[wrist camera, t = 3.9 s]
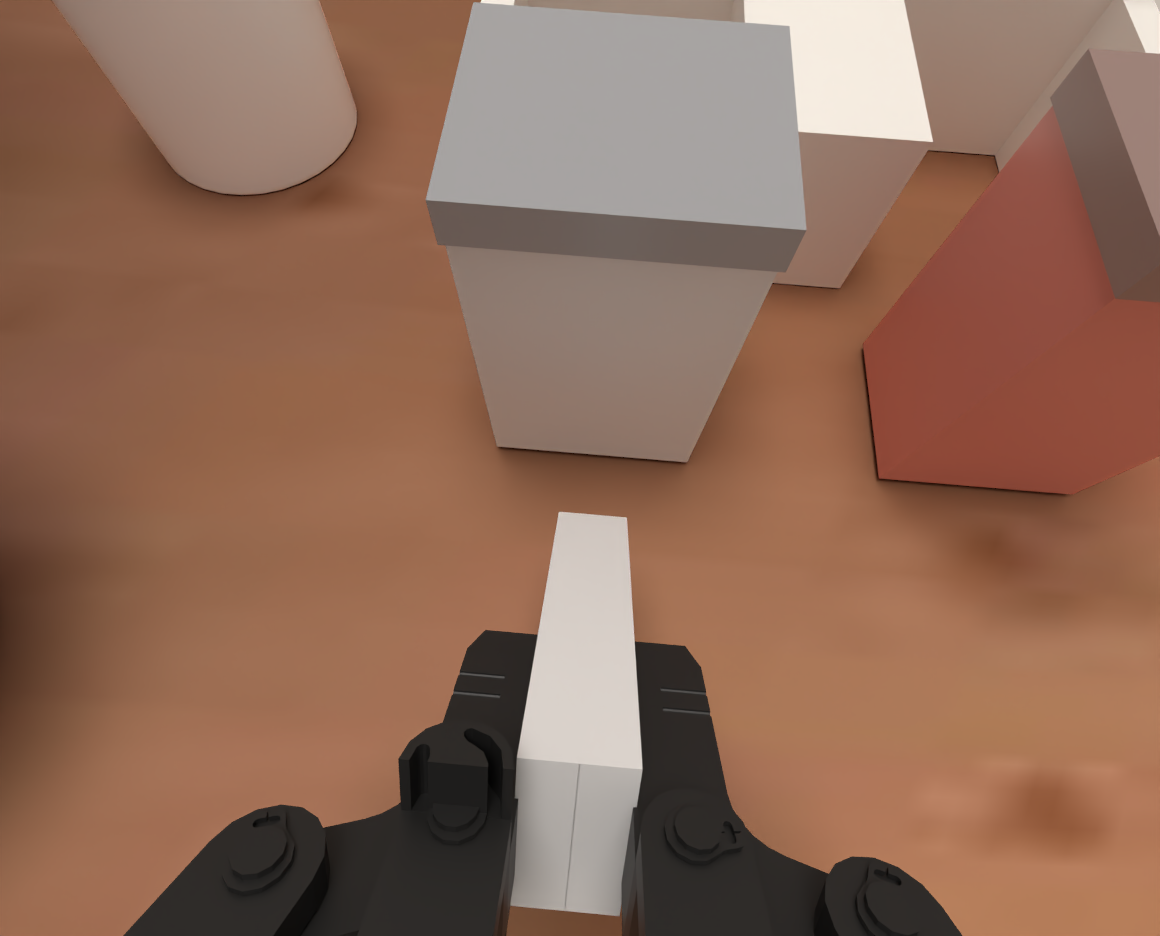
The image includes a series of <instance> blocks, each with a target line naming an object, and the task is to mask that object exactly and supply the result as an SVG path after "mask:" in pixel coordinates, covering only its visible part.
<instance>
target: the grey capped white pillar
mask: <svg viewBox="0 0 1160 936" xmlns="http://www.w3.org/2000/svg"><path fill="white" fill-rule="evenodd" d="M426 203H427V207H428V210H429V214H430V218H431V221H432V225H433V229H434V233H435V236H436V240H437V244H438V245H446V249H447V253H448V257H449V261H450V265H451V269H452V273H453V277H454V281H455V285H456V288H457V292H458V296H459V300H460V304H461V308H462V312H463V316H464V320H465V324H466V328H467V332H468V335H469V339H470V343H471V347H472V351H473V355H474V359H475V363H476V367H477V371H478V375H479V379H480V382H481V386H482V390H483V394H484V398H485V402H486V406H487V410H488V414H489V418H490V422H491V425H492V429H493V433H494V437H495V441H496V445H497V446H498V447H510V448H522V449H534V450H546V451H558V452H570V453H582V454H594V455H606V456H618V457H630V458H641V459H653V460H665V461H677V462H688V460H689V458H690V455H691V453H692V451H693V449H694V447H695V445H696V443H697V441H698V439H699V436H700V434H701V432H702V430H703V428H704V426H705V424H706V422H707V420H708V418H709V415H710V413H711V411H712V409H713V407H714V405H715V403H716V401H717V399H718V396H719V394H720V392H721V390H722V388H723V386H724V384H725V382H726V380H727V378H728V375H729V373H730V371H731V369H732V367H733V365H734V363H735V361H736V359H737V357H738V354H739V352H740V350H741V348H742V346H743V344H744V342H745V340H746V338H747V335H748V333H749V331H750V329H751V327H752V325H753V323H754V321H755V319H756V317H757V314H758V312H759V310H760V308H761V306H762V304H763V302H764V300H765V298H766V295H767V293H768V291H769V289H770V287H771V285H772V283H773V281H774V279H775V277H776V274H777V272H785V273H786V271H787V269H788V267H789V265H790V263H791V261H792V259H793V257H794V255H795V253H796V251H797V249H798V246H799V244H800V242H801V240H802V238H803V236H804V234H805V232H806V230H807V229H806V217H805V205H804V193H803V181H802V170H801V158H800V146H799V134H798V122H797V110H796V98H795V86H794V74H793V62H792V50H791V38H790V26H783V25H770V24H756V23H743V22H730V21H716V20H703V19H690V18H676V17H663V16H650V15H636V14H623V13H610V12H596V11H583V10H570V9H556V8H543V7H530V6H516V5H503V4H490V3H476V2H474V3H473V7H472V11H471V15H470V19H469V23H468V28H467V32H466V36H465V40H464V44H463V48H462V52H461V56H460V61H459V65H458V69H457V73H456V77H455V81H454V85H453V89H452V94H451V98H450V102H449V106H448V110H447V114H446V118H445V122H444V127H443V131H442V135H441V139H440V143H439V147H438V151H437V155H436V160H435V164H434V168H433V172H432V176H431V180H430V184H429V189H428V193H427V197H426Z"/></svg>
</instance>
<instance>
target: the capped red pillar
mask: <svg viewBox="0 0 1160 936" xmlns="http://www.w3.org/2000/svg"><path fill="white" fill-rule="evenodd" d="M1050 99H1051V102H1052V105H1053V106H1052V107H1051V108H1050V109H1049V111H1048V112H1047V113H1046V114H1045V116H1044V117H1043V118H1042V119H1041V121H1040V122H1039V123H1038V124H1037V126H1036V127H1035V128H1034V129H1033V131H1032V132H1031V133H1030V135H1029V136H1028V137H1027V138H1026V140H1025V141H1024V142H1023V143H1022V145H1021V146H1020V147H1019V148H1018V150H1017V151H1016V152H1015V153H1014V155H1013V156H1012V157H1011V158H1010V160H1009V161H1008V162H1007V163H1006V165H1005V166H1004V167H1003V168H1002V170H1001V171H1000V172H999V174H998V175H997V176H996V177H995V179H994V180H993V181H992V182H991V184H990V185H989V186H988V187H987V189H986V190H985V191H984V192H983V194H982V195H981V196H980V197H979V199H978V200H977V201H976V202H975V204H974V205H973V206H972V207H971V209H970V210H969V211H968V212H967V214H966V215H965V216H964V218H963V219H962V220H961V221H960V223H959V224H958V225H957V226H956V228H955V229H954V230H953V231H952V233H951V234H950V235H949V236H948V238H947V239H946V240H945V241H944V243H943V244H942V245H941V246H940V248H939V249H938V250H937V251H936V253H935V254H934V255H933V257H932V258H931V259H930V260H929V262H928V263H927V264H926V265H925V267H924V268H923V269H922V270H921V272H920V273H919V274H918V275H917V277H916V278H915V279H914V280H913V282H912V283H911V284H910V285H909V287H908V288H907V289H906V290H905V292H904V293H903V294H902V295H901V297H900V298H899V299H898V301H897V302H896V303H895V304H894V306H893V307H892V308H891V309H890V311H889V312H888V313H887V314H886V316H885V317H884V318H883V319H882V321H881V322H880V323H879V324H878V326H877V327H876V328H875V329H874V331H873V332H872V333H871V334H870V336H869V337H868V338H867V340H866V341H865V342H864V343H863V349H864V357H865V365H866V374H867V382H868V391H869V399H870V407H871V416H872V424H873V432H874V441H875V449H876V457H877V466H878V474H879V478H881V479H893V480H905V481H917V482H928V483H940V484H952V485H964V486H976V487H988V488H1000V489H1012V490H1024V491H1036V492H1048V493H1060V494H1075V493H1077V492H1079V491H1081V490H1084V489H1086V488H1088V487H1090V486H1093V485H1095V484H1097V483H1100V482H1102V481H1104V480H1106V479H1109V478H1111V477H1113V476H1115V475H1118V474H1120V473H1122V472H1125V471H1127V470H1129V469H1131V468H1134V467H1136V466H1138V465H1140V464H1143V463H1145V462H1147V461H1150V460H1152V459H1154V458H1156V457H1159V456H1160V54H1156V53H1143V52H1130V51H1116V50H1103V49H1090V48H1088V50H1087V51H1086V52H1085V54H1084V55H1083V56H1082V57H1081V59H1080V60H1079V61H1078V63H1077V64H1076V65H1075V66H1074V68H1073V69H1072V70H1071V71H1070V73H1069V74H1068V75H1067V77H1066V78H1065V79H1064V80H1063V82H1062V83H1061V84H1060V86H1059V87H1058V88H1057V89H1056V91H1055V92H1054V93H1053V95H1052V96H1051V97H1050Z"/></svg>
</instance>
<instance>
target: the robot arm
mask: <svg viewBox="0 0 1160 936" xmlns="http://www.w3.org/2000/svg"><path fill="white" fill-rule="evenodd" d="M399 778H400V796H401V803H399V804H398V805H397V806H395V807H393V808H391V809H389V810H387V811H386V812H384V813H382V814H379V815H376V816H372V817H369V818H366V819H362V820H358V821H353V822H348V823H344V824H339V825H334V826H330V827H325V828H323V827H322V825H321V823H320V821H319V819H318V817H316V816H315V815H313V814H312V813H310V812H309V811H307V810H306V809H304V808H302V807H295V806H287V805H278V806H273V807H268V808H263V809H258V810H255V811H253V812H251V813H249V814H247V815H245V816H243V817H241V818H239V819H237V820H235V821H233V822H232V823H231V824H230V825H228V826H227V827H226V828H225V829H224V830H222V831H221V832H220V833H219V834H218V835H217V836H215V837H214V838H213V839H212V840H211V841H210V842H209V843H208V844H207V845H206V846H205V847H204V848H203V849H202V851H201V852H200V853H199V854H198V855H197V856H196V857H195V858H194V859H193V860H192V861H191V863H190V864H189V865H188V866H187V867H186V868H185V869H184V870H183V871H182V872H181V873H180V875H179V876H178V877H177V878H176V879H175V880H174V881H173V882H172V883H171V884H170V885H169V887H168V888H167V889H166V890H165V891H164V892H163V893H162V894H161V895H160V896H159V897H158V898H157V900H156V901H155V902H154V903H153V904H152V905H151V906H150V907H149V908H148V909H147V910H146V912H145V913H144V914H143V915H142V916H141V917H140V918H139V919H138V920H137V921H136V922H135V924H134V925H133V926H132V927H131V928H130V929H129V930H128V931H127V932H126V933H125V934H124V936H506V931H507V924H508V917H509V910H510V906H518V907H529V908H539V909H550V910H560V911H571V912H581V913H592V914H602V915H613V916H620V910H621V904H622V936H962V935H961V933H960V932H959V930H958V929H957V928H956V926H955V925H954V923H953V922H952V920H951V919H950V918H949V916H948V915H947V913H946V912H945V910H944V909H943V908H942V906H941V905H940V904H939V903H938V902H937V901H936V900H935V899H934V897H933V896H932V895H931V894H930V893H929V892H928V891H927V890H926V888H925V887H924V886H923V885H922V884H921V883H919V882H918V881H917V880H915V879H914V878H912V877H911V876H910V875H908V874H907V873H905V872H904V871H903V870H901V869H900V868H898V867H896V866H894V865H891V864H888V863H886V862H883V861H881V860H878V859H876V858H869V857H850V858H848V859H845V860H843V861H841V862H838V863H836V864H835V865H834V867H833V868H832V870H831V872H830V873H829V874H827V873H825V872H823V871H820V870H818V869H815V868H813V867H810V866H808V865H805V864H803V863H801V862H798V861H796V860H793V859H791V858H788V857H786V856H784V855H782V854H780V853H778V852H776V851H774V850H772V849H770V848H768V847H767V846H766V845H765V844H763V843H762V842H761V841H759V840H758V839H757V838H755V837H754V836H753V835H752V834H751V833H750V832H749V831H748V830H747V828H746V827H745V825H744V823H743V821H742V820H741V819H740V818H739V817H738V816H737V815H736V813H735V812H734V810H733V809H732V806H731V803H730V800H729V797H728V794H727V790H726V785H725V780H724V776H723V771H722V766H721V761H720V756H719V752H718V747H717V742H716V737H715V732H714V728H713V723H712V718H711V716H710V708H709V704H708V699H707V696H706V689H705V684H704V680H703V675H702V670H701V667H700V666H699V664H698V663H697V662H696V660H695V659H694V658H693V656H692V655H691V654H690V652H689V651H688V650H687V648H686V647H685V646H678V645H667V644H656V643H645V642H635V640H634V624H633V608H632V592H631V576H630V560H629V544H628V528H627V518H626V517H614V516H603V515H592V514H580V513H569V512H559V515H558V521H557V526H556V532H555V538H554V544H553V550H552V556H551V561H550V567H549V573H548V579H547V585H546V591H545V596H544V602H543V608H542V614H541V620H540V626H539V631H538V635H534V634H523V633H512V632H501V631H490V630H485V631H484V632H483V633H482V634H481V635H480V636H479V637H478V638H477V639H476V640H475V641H474V642H473V643H472V644H471V645H470V646H469V647H468V648H467V651H466V654H465V657H464V660H463V663H462V666H461V669H460V675H458V678H457V681H456V684H455V687H454V692H453V695H452V696H451V700H450V703H449V706H448V709H447V712H446V715H445V718H444V721H443V723H440V724H438V725H435V726H432V727H430V728H427V729H425V730H424V731H423V732H422V733H420V734H419V735H418V736H416V737H415V738H414V739H412V740H411V741H410V742H409V743H408V745H407V746H406V748H405V750H404V751H403V753H402V754H401V756H400V757H399Z"/></svg>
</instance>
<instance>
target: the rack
mask: <svg viewBox="0 0 1160 936" xmlns="http://www.w3.org/2000/svg"><path fill="white" fill-rule="evenodd" d="M481 3H490V4H503V5H516V6H530V7H543V8H556V9H570V10H583V11H596V12H610V13H623V14H636V15H650V16H663V17H676V18H690V19H703V20H716V21H730V22H743V23H756V24H770V25H783V26H790V38H791V50H792V62H793V74H794V86H795V98H796V110H797V122H798V134H799V146H800V158H801V170H802V181H803V193H804V205H805V217H806V229H807V230H806V232H805V234H804V236H803V238H802V240H801V242H800V244H799V246H798V249H797V251H796V253H795V255H794V257H793V259H792V261H791V263H790V265H789V267H788V269H787V271H786V273H785V272H777V274H776V277H775V279H774V281H773V283H779V284H792V285H804V286H817V287H829V288H840V287H841V286H842V284H843V282H844V281H845V279H846V278H847V276H848V275H849V273H850V271H851V270H852V268H853V267H854V265H855V264H856V262H857V261H858V259H859V257H860V256H861V254H862V253H863V251H864V250H865V248H866V246H867V245H868V243H869V242H870V240H871V239H872V237H873V235H874V234H875V232H876V231H877V229H878V228H879V226H880V224H881V223H882V221H883V220H884V218H885V217H886V215H887V214H888V212H889V210H890V209H891V207H892V206H893V204H894V203H895V201H896V199H897V198H898V196H899V195H900V193H901V192H902V190H903V188H904V187H905V185H906V184H907V182H908V181H909V179H910V177H911V176H912V174H913V173H914V171H915V170H916V168H917V166H918V165H919V163H920V162H921V160H922V159H923V157H924V156H925V154H926V152H927V151H928V150H933V151H946V152H959V153H972V154H985V155H995V158H996V162H997V166H998V170H999V172H1000V171H1001V170H1002V168H1003V167H1004V166H1005V165H1006V163H1007V162H1008V161H1009V160H1010V158H1011V157H1012V156H1013V155H1014V153H1015V152H1016V151H1017V150H1018V148H1019V147H1020V146H1021V145H1022V143H1023V142H1024V141H1025V140H1026V138H1027V137H1028V136H1029V135H1030V133H1031V132H1032V131H1033V129H1034V128H1035V127H1036V126H1037V124H1038V123H1039V122H1040V121H1041V119H1042V118H1043V117H1044V116H1045V114H1046V113H1047V112H1048V111H1049V109H1050V108H1051V107H1052V106H1053V105H1052V102H1051V99H1050V97H1051V96H1052V95H1053V93H1054V92H1055V91H1056V89H1057V88H1058V87H1059V86H1060V84H1061V83H1062V82H1063V80H1064V79H1065V78H1066V77H1067V75H1068V74H1069V73H1070V71H1071V70H1072V69H1073V68H1074V66H1075V65H1076V64H1077V63H1078V61H1079V60H1080V59H1081V57H1082V56H1083V55H1084V54H1085V52H1086V51H1087V50H1088V48H1090V49H1103V50H1116V51H1130V52H1143V53H1156V54H1160V12H1159V10H1158V8H1157V6H1156V4H1155V1H1154V0H481Z"/></svg>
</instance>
